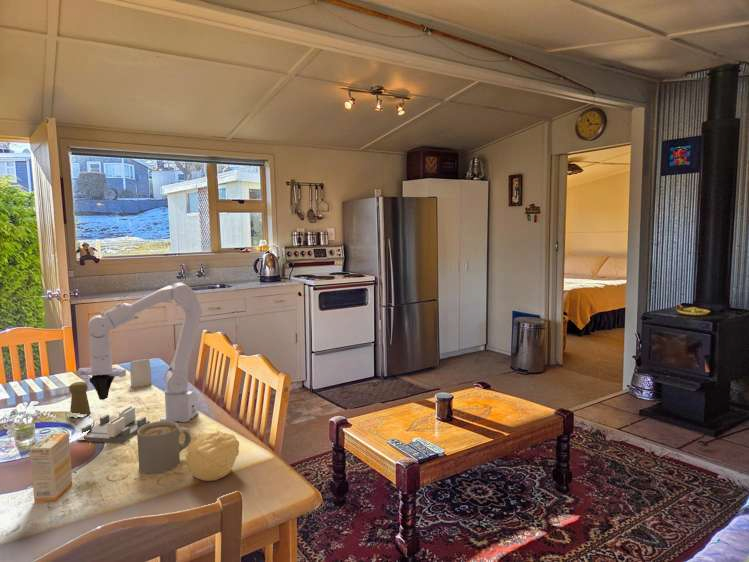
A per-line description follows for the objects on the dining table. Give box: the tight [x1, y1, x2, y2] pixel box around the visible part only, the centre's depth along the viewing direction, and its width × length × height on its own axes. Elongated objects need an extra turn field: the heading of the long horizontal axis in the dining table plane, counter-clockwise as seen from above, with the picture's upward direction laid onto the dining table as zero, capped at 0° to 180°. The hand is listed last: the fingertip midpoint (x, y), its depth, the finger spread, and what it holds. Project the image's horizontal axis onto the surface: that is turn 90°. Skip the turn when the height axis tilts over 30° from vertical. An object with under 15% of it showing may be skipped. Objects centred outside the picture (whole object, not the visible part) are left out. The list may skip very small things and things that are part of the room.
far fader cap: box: [118, 406, 137, 426], centre depth 157 cm, size 2×5×4 cm, turn 172°
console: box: [80, 414, 151, 444], centre depth 153 cm, size 14×14×3 cm
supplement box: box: [29, 432, 73, 503], centre depth 118 cm, size 8×5×13 cm, turn 5°
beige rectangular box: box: [129, 358, 153, 389], centre depth 198 cm, size 4×7×10 cm, turn 128°
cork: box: [69, 381, 92, 416], centre depth 167 cm, size 6×6×11 cm
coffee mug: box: [136, 420, 192, 475], centre depth 133 cm, size 13×10×10 cm
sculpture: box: [186, 430, 240, 482], centre depth 127 cm, size 12×12×11 cm
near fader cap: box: [107, 416, 125, 437], centre depth 149 cm, size 2×5×4 cm, turn 171°
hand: (103, 398), depth 154 cm, fingers closed
